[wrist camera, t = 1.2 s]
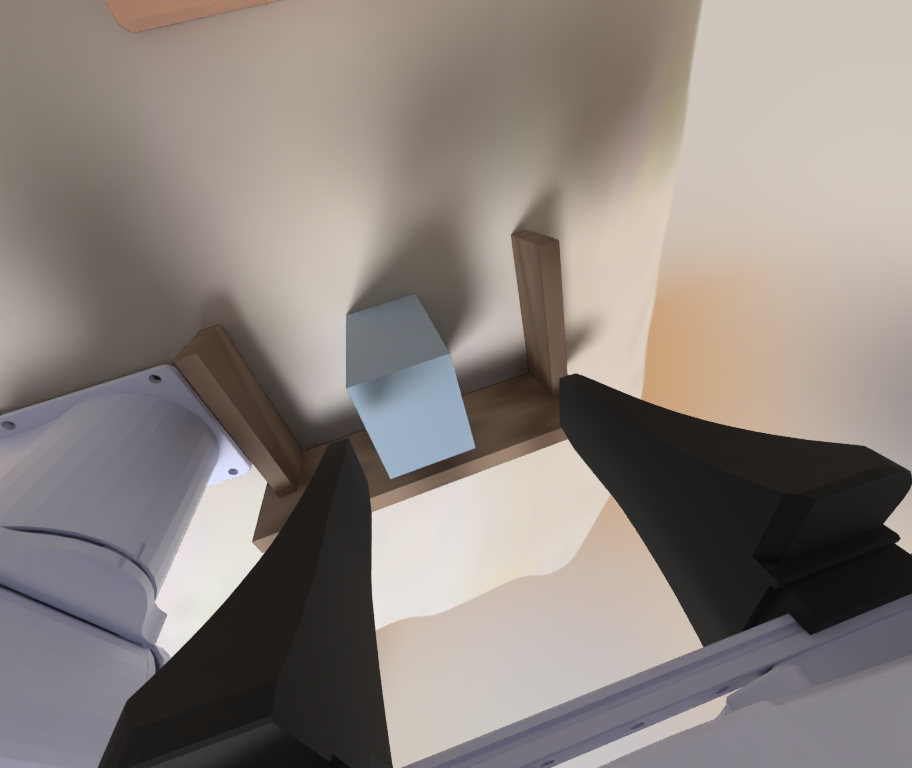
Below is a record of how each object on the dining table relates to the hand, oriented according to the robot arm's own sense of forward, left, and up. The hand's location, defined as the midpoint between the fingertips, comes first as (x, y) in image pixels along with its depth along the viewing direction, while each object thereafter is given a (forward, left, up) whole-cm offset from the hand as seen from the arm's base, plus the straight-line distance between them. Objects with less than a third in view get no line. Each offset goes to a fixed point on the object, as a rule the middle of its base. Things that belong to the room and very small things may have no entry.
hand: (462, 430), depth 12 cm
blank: (-1, -1, -11) cm, 11 cm away
